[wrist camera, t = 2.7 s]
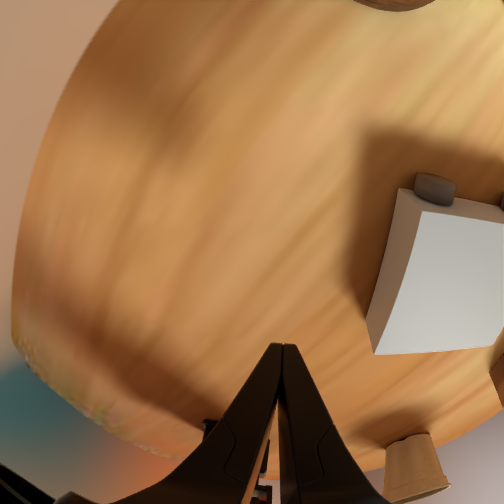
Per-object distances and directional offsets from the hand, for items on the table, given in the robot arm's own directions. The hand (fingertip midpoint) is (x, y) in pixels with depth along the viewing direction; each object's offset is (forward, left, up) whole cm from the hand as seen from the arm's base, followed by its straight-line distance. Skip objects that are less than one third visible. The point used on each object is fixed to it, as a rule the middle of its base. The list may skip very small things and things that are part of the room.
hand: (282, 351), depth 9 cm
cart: (+10, 0, -6) cm, 11 cm away
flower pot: (+19, -27, -6) cm, 33 cm away
